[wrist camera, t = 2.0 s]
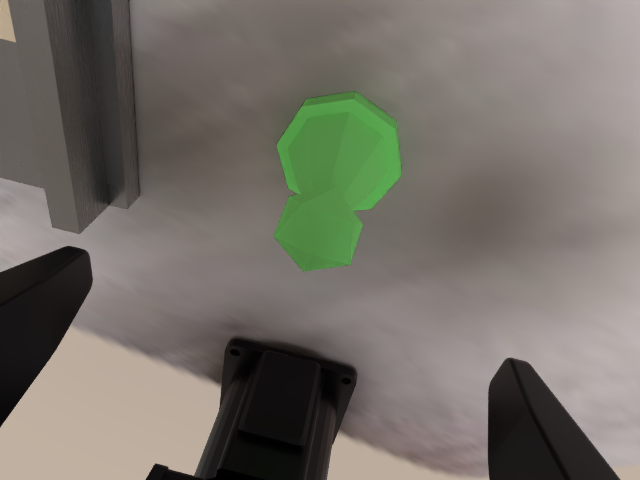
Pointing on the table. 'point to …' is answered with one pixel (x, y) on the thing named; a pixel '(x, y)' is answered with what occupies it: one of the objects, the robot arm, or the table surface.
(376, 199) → the game piece
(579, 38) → the table surface
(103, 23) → the track
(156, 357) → the table surface
